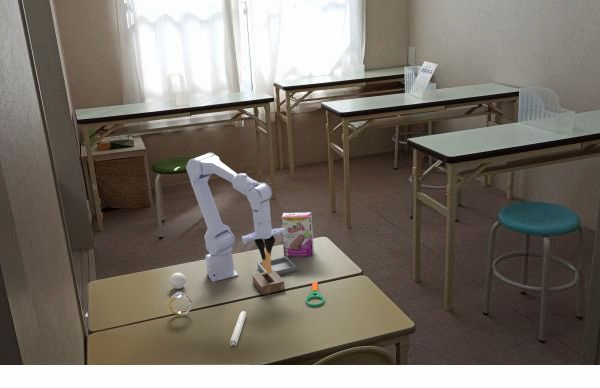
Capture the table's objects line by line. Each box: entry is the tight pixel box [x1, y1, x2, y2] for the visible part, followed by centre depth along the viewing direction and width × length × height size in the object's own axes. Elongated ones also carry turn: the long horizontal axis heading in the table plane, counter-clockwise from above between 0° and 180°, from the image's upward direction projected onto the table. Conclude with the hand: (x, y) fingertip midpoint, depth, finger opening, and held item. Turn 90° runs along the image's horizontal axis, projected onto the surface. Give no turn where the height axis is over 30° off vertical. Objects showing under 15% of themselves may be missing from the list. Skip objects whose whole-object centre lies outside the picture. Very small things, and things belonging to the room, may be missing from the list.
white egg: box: [169, 272, 187, 290], centre depth 205 cm, size 8×6×6 cm
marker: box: [229, 310, 247, 347], centre depth 176 cm, size 18×2×2 cm, turn 175°
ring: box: [167, 291, 192, 317], centre depth 186 cm, size 7×3×8 cm, turn 87°
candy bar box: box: [280, 211, 315, 258], centre depth 223 cm, size 11×5×16 cm, turn 84°
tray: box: [257, 255, 297, 276], centre depth 214 cm, size 11×10×2 cm
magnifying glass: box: [305, 281, 325, 308], centre depth 193 cm, size 15×6×2 cm, turn 178°
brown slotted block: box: [251, 270, 286, 296], centre depth 201 cm, size 8×10×3 cm
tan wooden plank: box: [261, 248, 272, 274], centre depth 199 cm, size 1×6×7 cm, turn 23°
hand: (266, 258), depth 199 cm, fingers closed on tan wooden plank, 1 cm apart
